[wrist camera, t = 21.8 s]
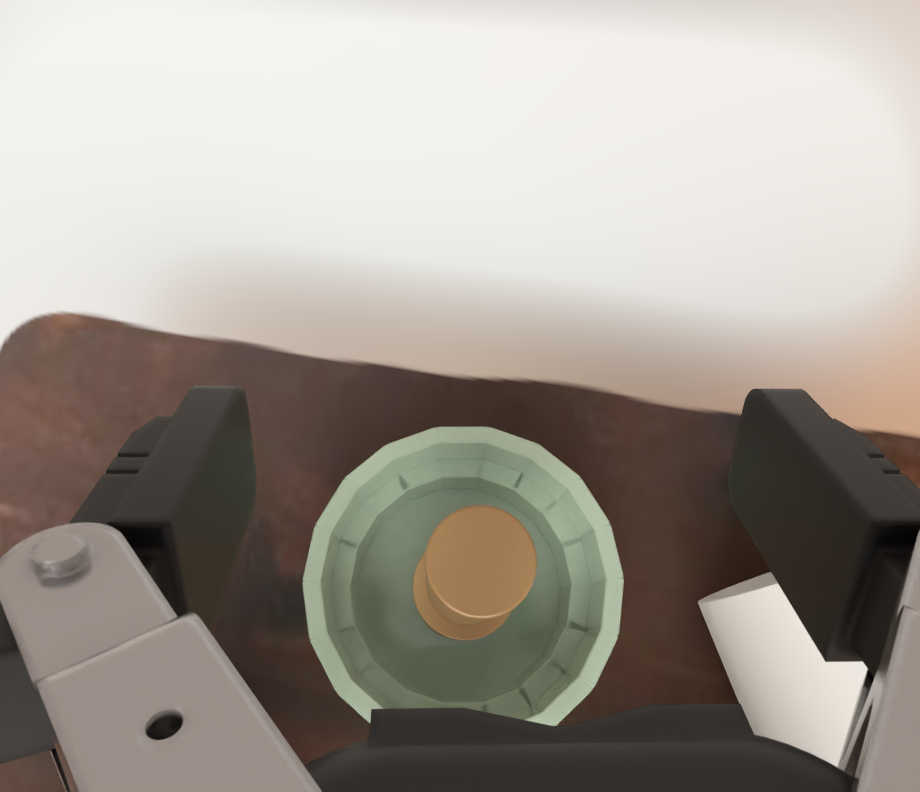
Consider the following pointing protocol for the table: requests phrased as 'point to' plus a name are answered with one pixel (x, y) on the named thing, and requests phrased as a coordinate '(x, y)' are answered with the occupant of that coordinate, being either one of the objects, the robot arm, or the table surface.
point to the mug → (781, 669)
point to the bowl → (405, 541)
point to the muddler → (474, 572)
